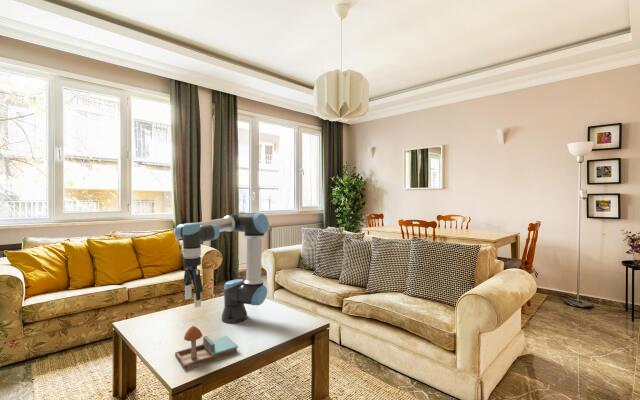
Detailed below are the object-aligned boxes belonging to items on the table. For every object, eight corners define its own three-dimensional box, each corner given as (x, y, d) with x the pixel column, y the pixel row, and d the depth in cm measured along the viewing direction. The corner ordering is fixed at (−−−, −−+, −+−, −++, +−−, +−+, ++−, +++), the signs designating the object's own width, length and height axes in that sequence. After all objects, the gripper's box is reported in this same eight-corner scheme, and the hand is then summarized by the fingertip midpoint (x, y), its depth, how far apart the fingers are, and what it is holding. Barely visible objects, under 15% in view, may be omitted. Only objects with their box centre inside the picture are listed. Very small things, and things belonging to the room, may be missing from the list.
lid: (202, 344, 160) (202, 335, 160) (226, 337, 168) (226, 329, 167) (212, 355, 149) (212, 346, 149) (238, 347, 157) (237, 338, 156)
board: (175, 356, 153) (175, 352, 152) (224, 342, 167) (224, 337, 167) (184, 370, 141) (184, 365, 141) (236, 353, 156) (236, 348, 156)
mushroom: (187, 354, 154) (187, 322, 154) (204, 353, 155) (204, 322, 154) (181, 362, 146) (181, 329, 146) (199, 362, 147) (199, 329, 146)
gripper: (176, 253, 157) (176, 297, 157) (192, 262, 137) (193, 312, 138) (192, 251, 161) (192, 294, 162) (209, 260, 142) (210, 308, 142)
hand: (192, 302), depth 150 cm, fingers open, 13 cm apart
